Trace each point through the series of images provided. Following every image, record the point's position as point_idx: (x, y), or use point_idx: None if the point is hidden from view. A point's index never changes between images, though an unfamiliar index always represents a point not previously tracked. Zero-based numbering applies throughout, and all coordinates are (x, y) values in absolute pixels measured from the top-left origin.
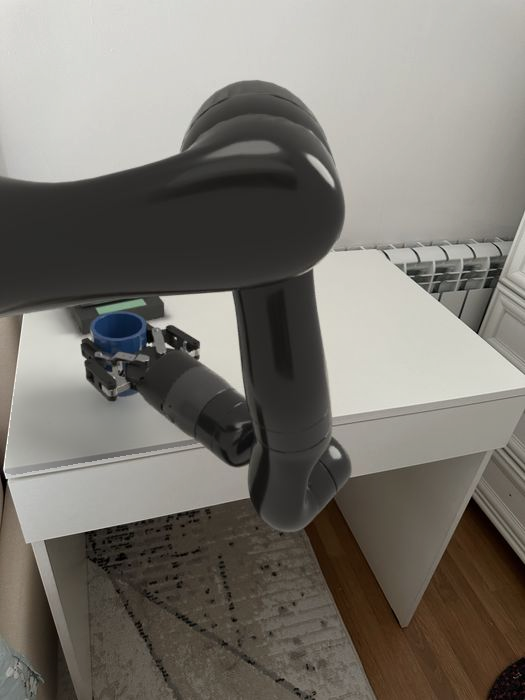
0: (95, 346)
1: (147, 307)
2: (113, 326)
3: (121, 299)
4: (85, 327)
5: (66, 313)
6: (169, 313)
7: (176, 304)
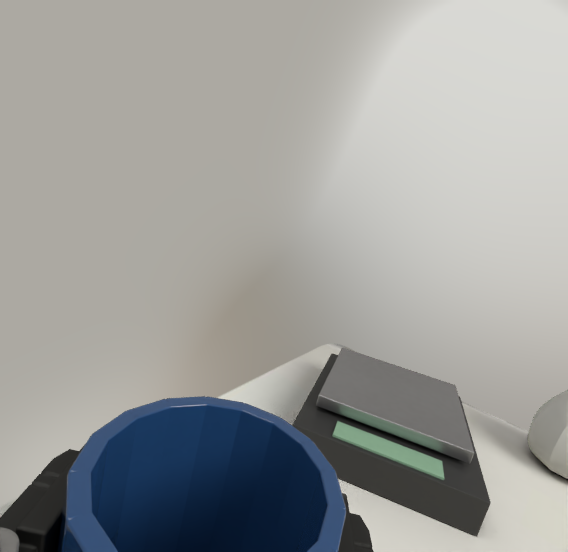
0: (58, 496)
1: (443, 487)
2: (247, 467)
3: (397, 435)
4: None
5: (300, 407)
6: (493, 536)
7: (521, 525)
